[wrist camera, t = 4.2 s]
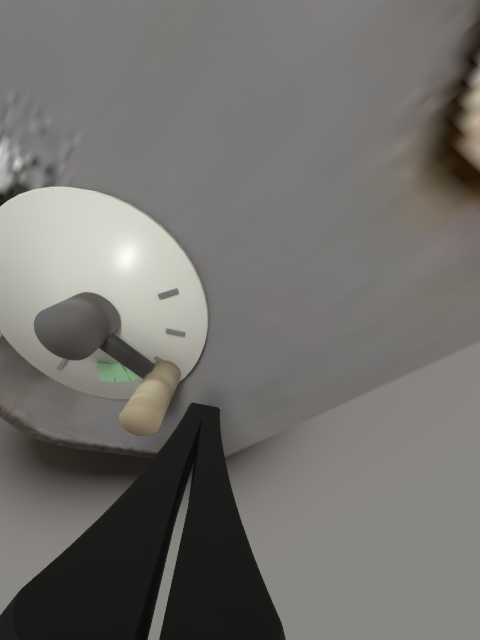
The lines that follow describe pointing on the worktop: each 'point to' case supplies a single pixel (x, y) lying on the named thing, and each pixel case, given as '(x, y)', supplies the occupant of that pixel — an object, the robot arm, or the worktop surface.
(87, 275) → the dial plate
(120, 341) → the crank handle
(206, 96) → the worktop surface
